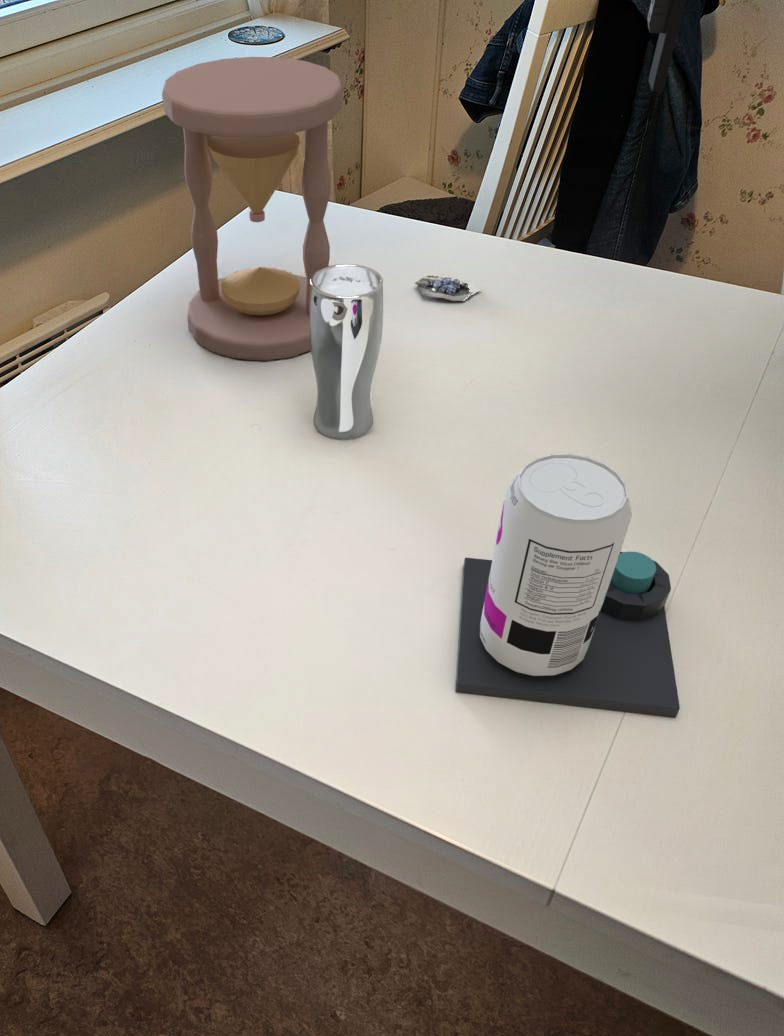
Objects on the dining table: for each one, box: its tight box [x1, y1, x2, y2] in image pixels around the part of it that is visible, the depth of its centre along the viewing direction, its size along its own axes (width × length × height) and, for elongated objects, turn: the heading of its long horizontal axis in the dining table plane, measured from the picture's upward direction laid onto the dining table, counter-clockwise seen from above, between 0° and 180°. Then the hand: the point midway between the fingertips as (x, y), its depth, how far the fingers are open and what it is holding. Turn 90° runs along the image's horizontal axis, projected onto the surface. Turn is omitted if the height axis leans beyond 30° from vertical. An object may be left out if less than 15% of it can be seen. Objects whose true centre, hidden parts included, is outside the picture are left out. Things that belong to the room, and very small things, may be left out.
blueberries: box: [414, 274, 473, 302], centre depth 110 cm, size 7×8×2 cm
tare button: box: [610, 551, 656, 594], centre depth 71 cm, size 3×3×2 cm
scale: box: [454, 551, 681, 719], centre depth 70 cm, size 16×15×3 cm
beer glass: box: [308, 263, 384, 440], centre depth 86 cm, size 7×7×15 cm
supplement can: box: [480, 453, 633, 676], centre depth 64 cm, size 8×8×15 cm
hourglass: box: [161, 56, 343, 361], centre depth 97 cm, size 18×18×25 cm
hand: (754, 90), depth 64 cm, fingers open, 13 cm apart
